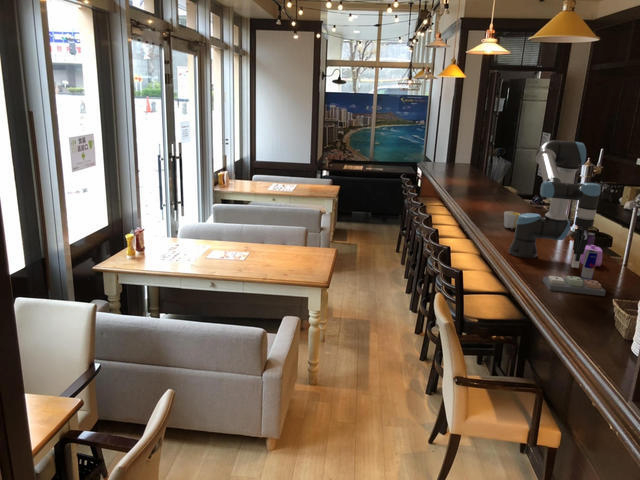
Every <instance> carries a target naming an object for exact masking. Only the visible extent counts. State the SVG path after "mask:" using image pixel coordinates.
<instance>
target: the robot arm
mask: <svg viewBox="0 0 640 480" xmlns="http://www.w3.org/2000/svg"><path fill="white" fill-rule="evenodd" d="M586 159H587V148H586V146H585V143H584V142H580V141H571V140H555V139H553V140H549V141H548V140H547V141H546V142H544V143H542V144H541V145H540V146H538V148H537V150H536V152H535V161H536V163H537V165H539V170H540V174H541V177H542V183H541V185H540V189H539V190H540V192H539V194H540V196H541V197H543V198H548V199H550V205H549V208H548V211H547V212H546V213H544V217H542V215H540V214H539V213H534V212H533V213H532V212H527V213H520V215H519V216H518V219H517V222H516V227H515V232H514V237H513V240H512V242H511V244H510V246H509V248H508V253H509V254H510V255H511V254H512V255H511V256H514V257H517V256H518V257H517V258H522V257H524V258H525V259H534V258H535V259H536V258H537V256H538V250H537V243H536V242H537V239H544V240H553V241H563V240H565V238H567V236H568V234H569V232H570V226H571V222H570V220H569V217H568V215H567V211H568V210H567V209H568V206H569V202H570V201H578V204H577V209H576V210H575V211H576V217H575V219H574V226H577V228H575V229H574V238H573V247H572V250H573V256H572V261H571V265H570V266H571V268H576V269H579V267H580V264H581V262H580V258H581V255H582V254H584V250H585V247H586V244H587V241H588V239H589V236H587V235H588V232H589V228H590V229H591V228H593V226H594V223H595V219H596V215H597V207H598V204H599V199H600V196H601V190H602V189H601V188H602V187H601V185H600V184H598V183H595V182H584V183H583V182H582V183H581V182H580V183H574V179H575V175H576V172H578V171H579V170H580V168H581V166H584V165H585V163H586Z"/></svg>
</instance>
